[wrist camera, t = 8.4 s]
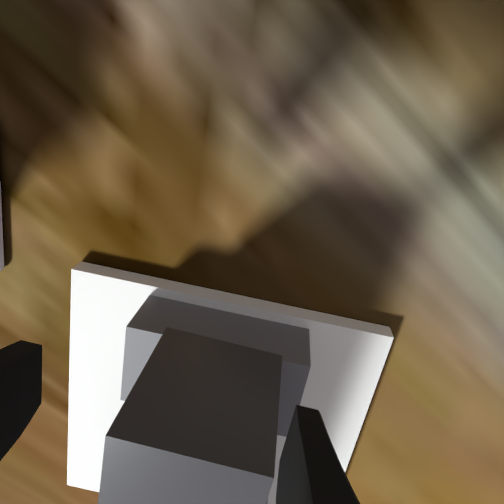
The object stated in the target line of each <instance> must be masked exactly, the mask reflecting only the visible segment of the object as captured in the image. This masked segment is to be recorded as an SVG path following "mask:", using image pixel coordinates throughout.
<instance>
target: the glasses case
mask: <svg viewBox="0 0 504 504" xmlns="http://www.w3.org/2000/svg"><path fill="white" fill-rule="evenodd" d="M281 368H282V355H279V354H275V353H270V352H266V351H262V350H258V349H254V348H250V347H246V346H242V345H238V344H234V343H230V342H226V341H222V340H218V339H214V338H209V337H205V336H201V335H197V334H193V333H189V332H185V331H181V330H177V329H173V328H169V327H166V329H165V331H164V333H163V335H162V336H161V338H160V340H159V342H158V343H157V345H156V347H155V349H154V350H153V352H152V354H151V356H150V358H149V359H148V361H147V363H146V365H145V366H144V368H143V370H142V372H141V373H140V375H139V377H138V379H137V381H136V382H135V384H134V386H133V388H132V389H131V391H130V393H129V395H128V396H127V398H126V400H125V402H124V404H123V405H122V407H121V409H120V411H119V412H118V414H117V416H116V418H115V419H114V421H113V423H112V425H111V427H110V428H109V430H108V432H107V434H106V435H105V444H104V453H103V462H102V472H101V481H100V490H99V500H98V504H266V502H267V499H268V496H269V492H270V489H271V486H272V483H273V480H274V473H275V458H276V443H277V428H278V413H279V398H280V383H281Z"/></svg>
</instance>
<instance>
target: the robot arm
mask: <svg viewBox="0 0 504 504" xmlns="http://www.w3.org/2000/svg"><path fill="white" fill-rule="evenodd" d="M3 268H4V249H3V227H2V205H1V183H0V271H1V270H2V269H3ZM41 393H42V345H39V344H35V343H31V342H26V341H22V340H20V341H18V342H16V343H13V344H11V345H9V346H7V347H4V348H2V349H0V461H1V459H2V458H3V457H4V456H5V454H6V453H7V452H8V451H9V449H10V448H11V447H12V446H13V445H14V443H15V442H16V441H17V439H18V438H19V437H20V436H21V434H22V433H23V431H24V429H25V428H26V426H27V425H28V423H29V422H30V420H31V419H32V417H33V415H34V414H35V412H36V411H37V409H38V407H39V406H40V404H41ZM276 504H360V503H359V501H358V499H357V497H356V495H355V493H354V491H353V489H352V487H351V485H350V483H349V480H348V478H347V476H346V474H345V472H344V470H343V468H342V465H341V463H340V461H339V459H338V456H337V454H336V452H335V449H334V447H333V445H332V442H331V440H330V437H329V435H328V432H327V429H326V427H325V424H324V421H323V419H322V416H321V413H320V412H319V410H317V409H312V408H308V407H304V406H300V405H296V407H295V411H294V414H293V417H292V420H291V424H290V427H289V430H288V434H287V437H286V440H285V444H284V447H283V450H282V453H281V457H280V461H279V471H278V480H277V490H276Z"/></svg>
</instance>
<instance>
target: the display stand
mask: <svg viewBox="0 0 504 504" xmlns="http://www.w3.org/2000/svg"><path fill="white" fill-rule="evenodd" d="M166 327H169V328H173V329H177V330H181V331H185V332H189V333H193V334H197V335H201V336H205V337H209V338H214V339H218V340H222V341H226V342H230V343H234V344H238V345H242V346H246V347H250V348H254V349H258V350H262V351H266V352H270V353H275V354H279V355H282V368H281V383H280V398H279V413H278V428H277V443H276V458H275V473H274V480H273V483H272V486H271V489H270V492H269V496H268V499H267V502H266V504H276V490H277V480H278V471H279V461H280V457H281V453H282V450H283V447H284V444H285V440H286V437H287V434H288V430H289V427H290V424H291V420H292V417H293V414H294V411H295V407H296V405H300V406H304V407H308V408H312V409H317V410H319V412H320V413H321V416H322V419H323V421H324V424H325V427H326V429H327V432H328V435H329V437H330V440H331V442H332V445H333V447H334V449H335V452H336V454H337V456H338V459H339V461H340V463H341V465H342V468H343V470H344V472H345V471H346V469H347V466H348V463H349V460H350V458H351V455H352V452H353V449H354V447H355V444H356V441H357V438H358V435H359V433H360V430H361V427H362V424H363V422H364V419H365V416H366V413H367V411H368V408H369V405H370V402H371V400H372V397H373V394H374V391H375V388H376V386H377V383H378V380H379V377H380V375H381V372H382V369H383V366H384V364H385V361H386V358H387V355H388V353H389V350H390V347H391V344H392V341H393V339H394V337H393V334H392V332H391V329H390V327H388V326H383V325H379V324H374V323H369V322H364V321H360V320H355V319H350V318H346V317H341V316H336V315H331V314H327V313H322V312H317V311H313V310H308V309H303V308H298V307H294V306H289V305H284V304H280V303H275V302H270V301H266V300H261V299H256V298H251V297H247V296H242V295H237V294H233V293H228V292H223V291H218V290H214V289H209V288H204V287H200V286H195V285H190V284H185V283H181V282H176V281H171V280H167V279H162V278H157V277H152V276H148V275H143V274H138V273H134V272H129V271H124V270H120V269H115V268H110V267H105V266H101V265H96V264H91V263H87V262H82V261H81V262H80V263H79V264H77V265H76V266H75V267H73V268H72V269H71V314H70V363H69V412H68V461H67V485H70V486H74V487H78V488H83V489H87V490H91V491H96V492H99V490H100V481H101V472H102V462H103V453H104V444H105V435H106V434H107V432H108V430H109V428H110V427H111V425H112V423H113V421H114V419H115V418H116V416H117V414H118V412H119V411H120V409H121V407H122V405H123V404H124V402H125V400H126V398H127V396H128V395H129V393H130V391H131V389H132V388H133V386H134V384H135V382H136V381H137V379H138V377H139V375H140V373H141V372H142V370H143V368H144V366H145V365H146V363H147V361H148V359H149V358H150V356H151V354H152V352H153V350H154V349H155V347H156V345H157V343H158V342H159V340H160V338H161V336H162V335H163V333H164V331H165V329H166Z"/></svg>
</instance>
